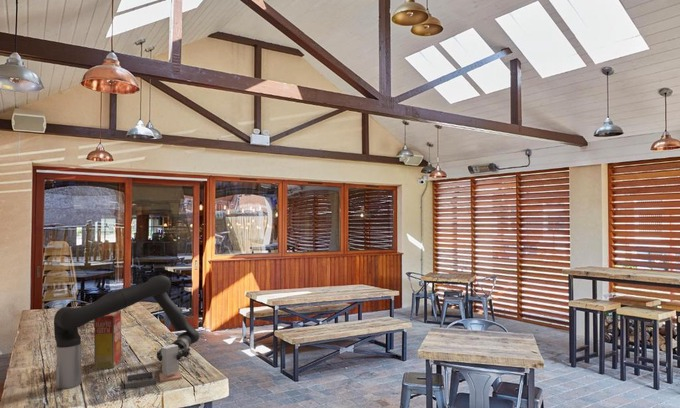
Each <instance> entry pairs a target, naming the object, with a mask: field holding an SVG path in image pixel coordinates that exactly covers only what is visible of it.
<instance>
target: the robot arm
mask: <svg viewBox="0 0 680 408" xmlns="http://www.w3.org/2000/svg"><path fill="white" fill-rule="evenodd" d="M171 285H172V282H171V279H170V278H169V277H168V276H167V275H162V274H161V275H160V274H159V275H155V276H152V277H150V278H148V280H147V281H146V282H142V283H139V284H135V285H131V286H126V287H123V288H119V289H116V290H113V291H111V292H109V293H106V294H104V295H103V296H101V297H100V298H98V299H96V300H95V301H93V302H91V303H88V304H85V305H82V306H78V307H71V306H63V307H61V308H59V309H58V310H57V311H56V313H55V314H54V318H53V331H54V340H55V343H56V344H55V345H56V348H55V349H56V365H55V389H56V390H57V389H71V388H75V387H77V386H79V385H81V384H82V379H83V378H82V376H83V375H82V341H81V340H82V338H81V336H80V333H79V330H78V328H79V327H82V326H84V325H86V324H88V323H90V322H92V321H94V319H97V318H99V317H102V316H105V315H108V314H111V313H114V312H117V311H122V310H124V309H126V308H129V307H131V306H133V305H135V304H137V303H139V302H141V301H143V300H146V299H148V298H153V299H154V300H155V301H156V302H157V304H158V306H160V308H161V309H162V311H163V312H164V314H165V316H166V317H167V318H168V320H169V322H170V324H171V325H172V328H173V329H174V331H176V332H180V331H184V332H183V333H180V334H179V335H177V337H176V339H175V340H174V341H173V342H172V343H171V344H170V345H172V344H175V345H178V354H177V356H176V359H177V360H180V359H182V358H188V356H190V355H191V348H190V347H191V345H193V344H195V343H197V342H199V340H200V334H199V331H197V330H196V328H194V327H193V326H192V325H191V324H190V322H188V320H187V318H186V317H185V315H184V313H183V312H182V310H181V309H180V308H179V307H178V305H177V304H176V303H175V302H174V301H173V300H172V299H171V298H170V295H168V293H167V292H168V291H169V290H170V288H171V287H172V286H171ZM156 359H158V361H159V362H162V354H161V349H158V351H157V353H156Z"/></svg>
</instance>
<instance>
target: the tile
mask: <svg viewBox="0 0 680 408" xmlns="http://www.w3.org/2000/svg"><path fill="white" fill-rule="evenodd" d="M158 375H159V377H158V378H159V382H160V383H163V382H169V381H176V380H181V379H183V376H182V372H181V370H179V372H177V373H174V374H171V375H168V376H166V375H164V374H162V373H159V374H158Z"/></svg>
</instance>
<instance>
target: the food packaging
mask: <svg viewBox="0 0 680 408" xmlns="http://www.w3.org/2000/svg"><path fill="white" fill-rule="evenodd" d="M93 322H94V323H93V327H94V330H93V332H94V333H93V334H94V343H93V344H94V346H93V347H94V354H93V355H94V359H93V360H94V366H93V367H94V368H93V370H105V369H114V368H115V367H116V366H117V365H118V364H119V363H120V362H121V361H122V310H119V311H117V312H114V313H111V314H108V315H105V316H102V317H99V318H97V319H94V320H93Z"/></svg>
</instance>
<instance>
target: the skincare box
mask: <svg viewBox="0 0 680 408" xmlns="http://www.w3.org/2000/svg"><path fill="white" fill-rule="evenodd" d="M171 344H172V343H171ZM171 344H169V345H164V346H161V348H160V350H161V354H162V360H161V371H162V372H161V374H164V375H166V376H168V375H171V374H174V373H177V372H179V371H180V361H179V360H180V359H179V360H177V359H176V356H177V354H178V345H175V344H172V345H171Z"/></svg>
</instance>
